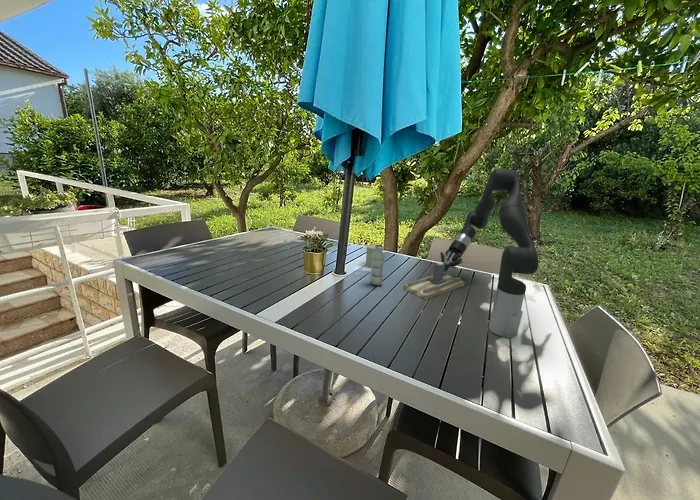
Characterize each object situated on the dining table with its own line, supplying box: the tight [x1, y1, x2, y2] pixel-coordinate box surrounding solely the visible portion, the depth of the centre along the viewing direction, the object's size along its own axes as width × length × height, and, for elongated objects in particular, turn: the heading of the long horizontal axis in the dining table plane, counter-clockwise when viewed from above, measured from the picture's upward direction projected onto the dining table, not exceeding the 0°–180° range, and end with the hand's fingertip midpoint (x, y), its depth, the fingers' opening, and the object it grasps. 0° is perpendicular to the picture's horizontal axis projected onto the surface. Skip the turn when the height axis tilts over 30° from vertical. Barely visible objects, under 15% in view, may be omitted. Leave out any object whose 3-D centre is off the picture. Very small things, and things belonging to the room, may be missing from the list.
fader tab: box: [429, 261, 446, 285], centre depth 154 cm, size 6×5×10 cm
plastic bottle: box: [369, 244, 386, 286], centre depth 152 cm, size 6×7×20 cm
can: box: [365, 243, 379, 269], centre depth 179 cm, size 9×9×12 cm
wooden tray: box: [402, 271, 466, 301], centre depth 155 cm, size 14×30×4 cm, turn 128°
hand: (442, 271), depth 156 cm, fingers closed
